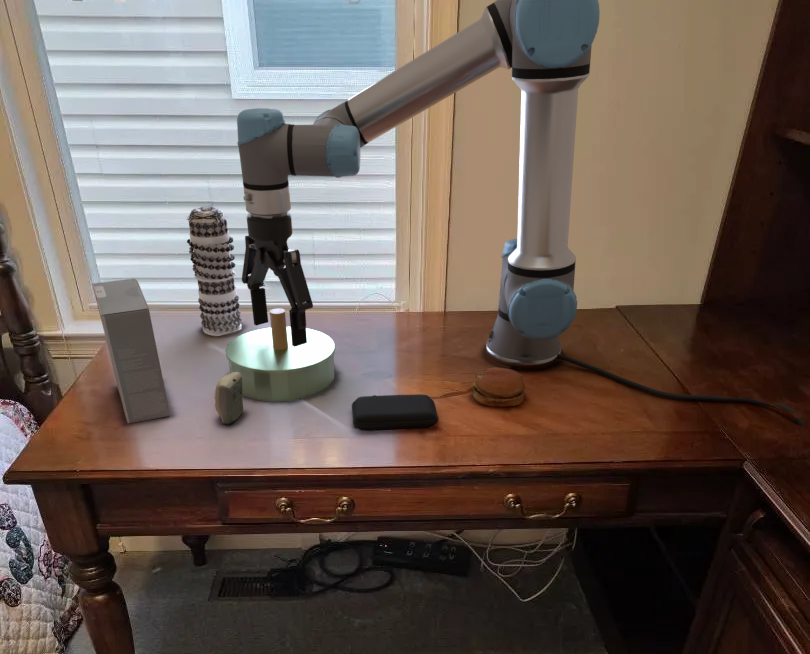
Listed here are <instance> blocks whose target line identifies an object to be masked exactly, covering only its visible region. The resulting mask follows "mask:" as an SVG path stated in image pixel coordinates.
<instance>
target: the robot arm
mask: <svg viewBox="0 0 810 654" xmlns="http://www.w3.org/2000/svg"><path fill="white" fill-rule="evenodd" d="M599 25H600V3H599V0H495V1H493V2H492V3H490V4H489V5H487V6H486V7H484V9H483V12H482V14H481V17H480V18H479V19H478V20H476V21H474V22H473V23H472V24H470V25H467V26H466V27H465V28H463V29H461V30H460V31H458V32H456V33H455V34H453V35H451V36H450V37H448V38H446V39H444V40H443V41H442V42H439V43H438V44H436V45H435V46H433V47H432V48H430V49H428V50H427V51H425V52H423V53H422V54H420V55H419V56H417V57H415V58H413V59H412V60H411V61H410V60H409V62H407V63H405V64H404V65H402V66H401V67H399V68H397V69H395V70H393V71H391V73H389V74H387V75H385V77H383V78H381V79H379V80H377V81H376V82H374V83H372V84H371V85H369V86H368V87H366V88H364V89H363V90H360V92H358V93H356V94H354V95H353V96H351V97H349V98H348V99H347V100H345V101H344V102H341V103H340V104H338V105H337V106H335V107H333V108H331V109H327V110H325V111H323V112H322V113H320V114H319V115H318V116H317V117H316V118H315V120H313V123H312V124H292V123H286V120H285V118H284V114H283V112H282V110H280V109H276V108H268V107H266V108H265V107H263V108H262V107H258V108H256V107H255V108H248V109H243V110H242V111H240V112H239V113H238V114H237V117H236V126H237V146H238V153H239V161H240V168H241V169H240V170H241V178H242V186H243V201H244V204H245V205H244V206H245V211H246V212H247V213H248V214H247V215H246V225H247V235H245V237H244V242H245V243H244V244H245V251H244V258H243V265H242V266H243V267H242V273H241V274H242V275H241V282H242V283H243V284H244V285H245V284H246V286H247V288H248V290H249V293H250V301H251V310H252V318H253V325H254V326H255V327H256V326H260V325H263V324H268V323H269V316H268V315H269V314H268V306H267V305H268V303H267V295H266V288H265V286H266V285H265V283H264V282H265V279H266V276H267V274H268V271H269V269H270V270H271V271H272V272H273V274H274V276H275V277H277V278H278V280H279V282H280V285H281V287H282V289H283V292H284V293H285V296H286V298H287V301H288V303H289V305H290V309H289V310H288V312H289V313H288V314H289V324H290V327H291V337H292V346H294V347H295V346H299V345H302V344H305V343H307V336H306V328H307V315H306V311H307V310H310V309H313V308H314V304H313V300H312V297H311V294H310V289H309V287H308V284H307V280H306V279H307V278H306V277H305V273H304V269H303V266H302V262H301V253H300V250H299V249H293V250H291V249H289V245H288V240H289V238H291V237H292V236H293V223H292V215H291V213H290V210H291V209H292V205H291V194H290V185H289V176H291V177H297V176H298V177H299V176H300V177H303V176H304V177H335V178H338V179H340V178H342V177H354V176H357V175H358V174H359V172H360V169H361V148H363V147H365V146H366V145H367V144H369V143H370V142H372V141H374V140H376V139H377V138H380V137H381V136H383V135H384V134H386V133H388V132H389V131H391V130H393V129H395V128H397V127H398V126H400V125H402V124H404V123H405V122H408V120H410V119H412V118H415V117H416V116H418V115H419V114H421V113H423V112H424V111H426V110H428V109H430V108H431V107H433V106H435V105H436V104H438V103H440V102H442V101H443V100H445V99H447V98H449V97H450V96H452V95H454V94H456V93H457V92H459V91H461V90H462V89H464V88H466V87H468V86H469V85H471V84H473V83H475V82H476V81H479V80H480V79H481V78H483V77H485V76H487V75H488V74H491V73H492V72H494V71H496V70H497V69H499V68H503V69H505V70H511V80H512V81H513V82H514V83H515V84H516V86H517V87H518V88H519V89H520V91H521V92H520V94H521V95H520V96H521V97H520V98H521V99H520V123H519V124H520V125H519V126H520V129H519V159H518V160H519V161H518V162H519V164H518V166H519V167H518V199H517V201H518V203H517V233H516V234H517V235H516V236H517V237H516V238H512V239H509V240H507V241H506V242H505V243H504V245H503V251H502V254H501V258H502V260H501V261H502V262H501V271H500V285H499V295H498V296H499V297H498V307H497V317H496V319H495V322H494V324H493V326H492V328H491V331H489V332H488V333H489V334H488V338H487V340H486V344H485V353H486V356H487V357H488V358H489V359H490V360H492V361H493V362H496V363H498V364H500V365H503V366H506V367H507V366H508V367H509V368H508V369H513V370H526V371H528V370H529V371H531V370H532V371H533V370H541V369H545V368H549V367H552V366H554V365H555V364H557V363H558V362H559V361H560V360H562V361H564V362H568V363H570V364H573V365H576V366H579V367H581V368H585V369H586V370H588V371H592V372H594V373H597V374H600V375H602V376H605V377H607V378H609V379H612V380H614V381H617V382H619V383H621V384H624V385H627V386H630V387H632V388H635V389H638V390H640V391H642V392H646V393H648V394H651V395H655V396H659V397H664V398H668V399H674V400H683V401H684V400H685V401H686V400H687V401H712V402H743V403H750V404H754V405H755V404H756V405H760V406H764V407H770V408H774V409H777V408H776V407H774V406H771V405H769V404H767V403H764V402H761V401H758V400H753V399H746V398H720V397H725V396H726V395H710V394H681V393H680V394H679V393H673V392H668V391H662V390H658V389H654V388H651V387H648V386H646V385H644V384H641V383H638V382H636V381H634V380H633V381H632V380H630V379H627V378H624V377H622V376H619V375H617V374H615V373H612V372H609V371H608V370H605V369H602V368H600V367H597V366H594V365H591V364H590V363H586V362H584V361H581V360H579V359H575V358H573V357H569V356H567V355H563V354H562V345H561V342H560V337H559V336H560V335H562V334H564V332H566V331H567V330H568V329H570V327H571V325H572V324H573V322H574V320H575V318H576V315H577V312H578V311H577V310H578V300H577V295H576V292H575V291H574V289H575V277H576V263H577V262H576V260H577V257H576V255H575V253H574V252H573V251H572V250H571V249H570V248H569V232H570V231H569V230H570V219H571V218H570V217H571V202H572V188H573V173H574V172H573V171H574V160H575V159H574V157H575V143H576V142H575V141H576V128H577V127H576V126H577V113H578V97H579V88H580V87H581V86H582V84H583V83H584V82H585V81H586V80H587V78H589V76H590V73H591V71H590V70H591V59H592V45H593V44H594V41H595V38H596V35H597V32H598V28H599ZM718 397H719V398H718ZM775 404H776V405H778V406H779V407H781V408H783V409H784V410H786V411H789V412H792V413H796V414H798V413H797V411H795V410H794V409H793V408H791V407H789V406H788V405H785V404H783V403H779V402H775ZM791 418H793V420H794V421H795V422H796V424H797V425H799V426H800V427H805V422H804V421H803V418H801V419H798V418H795V417H793V416H791Z"/></svg>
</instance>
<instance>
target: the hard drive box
mask: <svg viewBox="0 0 810 654" xmlns="http://www.w3.org/2000/svg"><path fill="white" fill-rule="evenodd" d="M92 288H93V292H94V297H95V300H96V301H95V302H96V305H97V309H98V312H99V317H100V321H101V324H102V328H103V329H102V330H103V334H104V337H105V341H106V346H107V350H108V353H109V358H110V361H111V366H112V370H113V373H114V377H115V382H116V386H117V389H118V393H119V397H120V401H121V404H122V408H123V412H124V413H123V414H124V415H125V419H126V422H127V424H133V423H139V422H144V421H149V420H155V419H160V418H166V417H169V416H171V411H170V407H169V401H168V396H167V392H166V387H165V382H164V376H163V372H162V367H161V362H160V358H159V353H158V347H157V342H156V337H155V333H154V327H153V323H152V317H151V312H150V307H149V305H148V303H147V300H146V298H145V295H144V293H143V291H142V288H141V286H140V283H139V282H138V279H136V278H127V279H125V278H124V279H117V280H111V281H110V280H109V281H102V282H94V283H92Z"/></svg>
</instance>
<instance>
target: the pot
mask: <svg viewBox="0 0 810 654" xmlns="http://www.w3.org/2000/svg"><path fill="white" fill-rule="evenodd" d="M227 361H228V367H229V374H230V373H233V372H239V373H240V374H241V376H242V389H243V397H244V396H245V397H247V398H249V399H253V400H256V401H263V402H274V403H275V402H276V403H279V402H280V403H281V402H282V403H283V402H292V401H293V402H294V401H300V400H303V398H302V397H307V396H310V395H312V394H315V393H318V392H321V391H322V390H324V389H326V388H328V386H330V385H331V384H332V382H333V381H334V379H335V377H336V376H335V375H336V374H335V373H336V372H335V353H334V354H333V356H332V357H331V358H330V359H328V360H327V361H326V362H324V363H322V364H320V365H318V366H315V367H313V368H309V369H306V370H301V371H296V372H289V373H261V372H254V371H249V370H245V369H242V368H240V367H237V366H235V365H234V364H232V363H231V362H230V361H229V360H228V359H227Z"/></svg>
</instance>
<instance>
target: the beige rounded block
mask: <svg viewBox="0 0 810 654" xmlns="http://www.w3.org/2000/svg"><path fill="white" fill-rule="evenodd" d="M214 408H215V411H216V412H217V414H218V415H219V416H220V420H221V425H223V426H226V427H230V426H233V425H235V423H236V422H237V421H238V420H239V419H240V418H241V417H242V416H243V414H244V395H243V389H242V376H241V374H240V373H239V372H233V373H230V372H229V373H227V374H226V375H224V376H223V377H222V378H221V379H220V380H218V382H217V384H216V388H215V393H214Z"/></svg>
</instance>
